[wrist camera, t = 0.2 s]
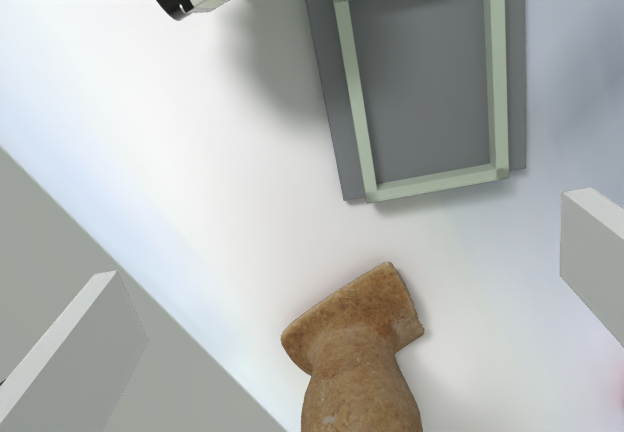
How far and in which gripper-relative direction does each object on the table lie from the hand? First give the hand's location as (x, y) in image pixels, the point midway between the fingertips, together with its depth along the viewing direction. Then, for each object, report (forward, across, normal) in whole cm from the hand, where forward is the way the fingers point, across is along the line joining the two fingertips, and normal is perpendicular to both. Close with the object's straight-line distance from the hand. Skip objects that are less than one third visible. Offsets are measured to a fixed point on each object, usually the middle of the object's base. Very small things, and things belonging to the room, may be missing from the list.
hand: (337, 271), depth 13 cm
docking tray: (+27, +8, 0) cm, 28 cm away
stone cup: (+27, -1, -24) cm, 36 cm away
